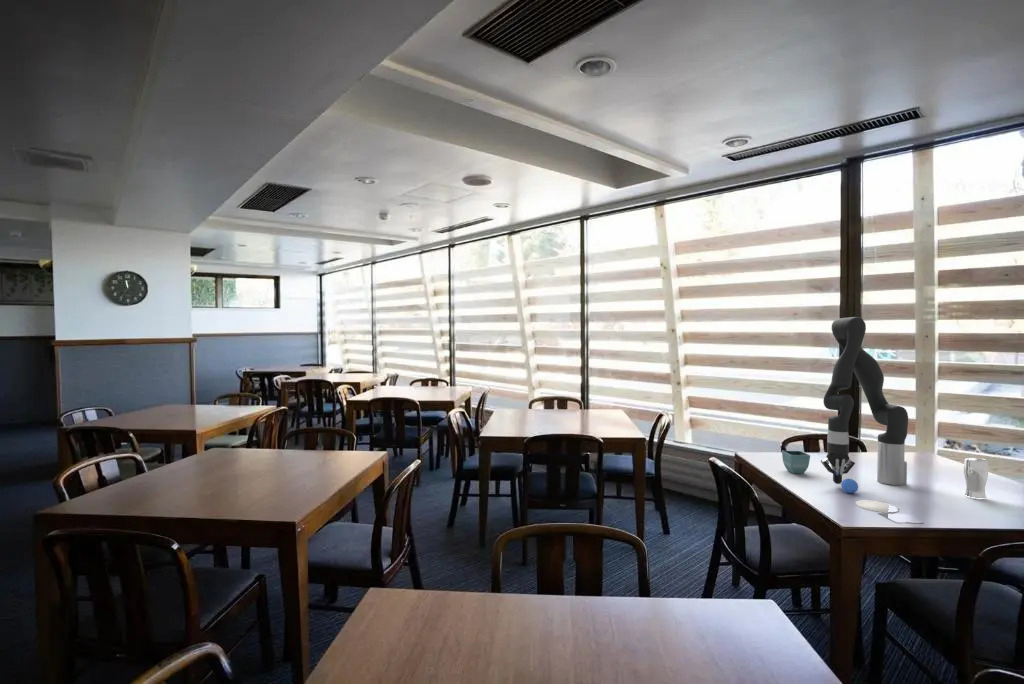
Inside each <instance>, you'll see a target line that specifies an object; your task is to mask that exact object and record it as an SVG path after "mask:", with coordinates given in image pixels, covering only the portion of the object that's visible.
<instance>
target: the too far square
mask: <svg viewBox="0 0 1024 684" xmlns="http://www.w3.org/2000/svg"><path fill="white" fill-rule="evenodd" d="M877 514H878V515H879V514H880V515H879V516H881V515H882V517H883V516H884V518H885V517H886V519H887V518H888V513H883V512H878V513H877Z"/></svg>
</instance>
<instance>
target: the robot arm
mask: <svg viewBox="0 0 1024 684" xmlns="http://www.w3.org/2000/svg"><path fill="white" fill-rule="evenodd" d="M866 330H867V326H866V322H865V321H864V320H863V318H861V317H858V316H852V317H851V316H850V317H842V318H841V317H840V318H837V319H835V320H833V322H832V323H831V331H832V335H833V336H834V338H835V341H836V342H837V344H839V347H840V348H841V350H842V353H841V355H840V356H839V358H838V359H837V360H836V362H835V364H834V367H833V370H832V376H831V382H830V384H829V386H828V388H827V391H825V394H824V397H823V406H824V407H825V408H826V410H832V411H838V412H839V414H838V415H832V416H829V417H828V419H827V422H828V423H827V424H828V425H827V437H826V439H827V443H826V446H827V448H826V451H827V454H826V456H825V457H826V458H824V459H821V460H820V463H821V464H822V465H823V467H824V468H825V469H826V470H827V472H828V473H831V474H832V481H833V483H834V484H835V485H841V484H842V481H843V475H844V474H845V475H846V474H848V473H849V472H850V470H852V468H854V466H855V464H856V463H855V462H854V461H853V460H851V459H850V456H849V452H850V449H849V448H850V436H849V421H850V417H851V415H852V412H853V410H854V407H855V406H854V405H855V400H854V398H853V397H852V395H850V394H845V393H840V391H842V390H848V389H850V388H852V383H853V382H852V381H853V376H854V375H855V377H856V379H857V381H858V382H859V384H860V387H861V389H862V391H863V393H864V395H865V397H866V400H867V402H868V406H869V408H870V411H871V414H872V416H873V419H874V420H875V422H876V423H878V424H880V425H883V426H886V430H885V432H883V433H880V434H878V435H877V460H876V461H877V466H876V467H877V470H876V471H877V474H876V477H877V482H878V483H881V484H884V485H889V484H890V486H904V485H907V484H908V481H907V479H908V478H907V477H908V474H907V473H908V463H907V461H905V448H906V447H905V444H906V443H905V442H906V439H907V436H908V430H909V429H908V427H909V415H908V411H907V409H906V408H905V407H903V406H902V405H901V406H900V405H896V404H890V403H889V402H888V401H887V399H886V397H885V395H884V393H883V387H884V383H885V382H884V381H885V378H884V377H885V376H884V373H883V371H882V368H881V367H880V364H879V363H878V362H877V360H876V359H875V358H874V357H873V356H872V355H871V354H869V353H868V352H867V351H866V350H864V349H863V348H862V347H861V346H862V343H863V342H864V341H863V340H864V338H865V335H866Z"/></svg>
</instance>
